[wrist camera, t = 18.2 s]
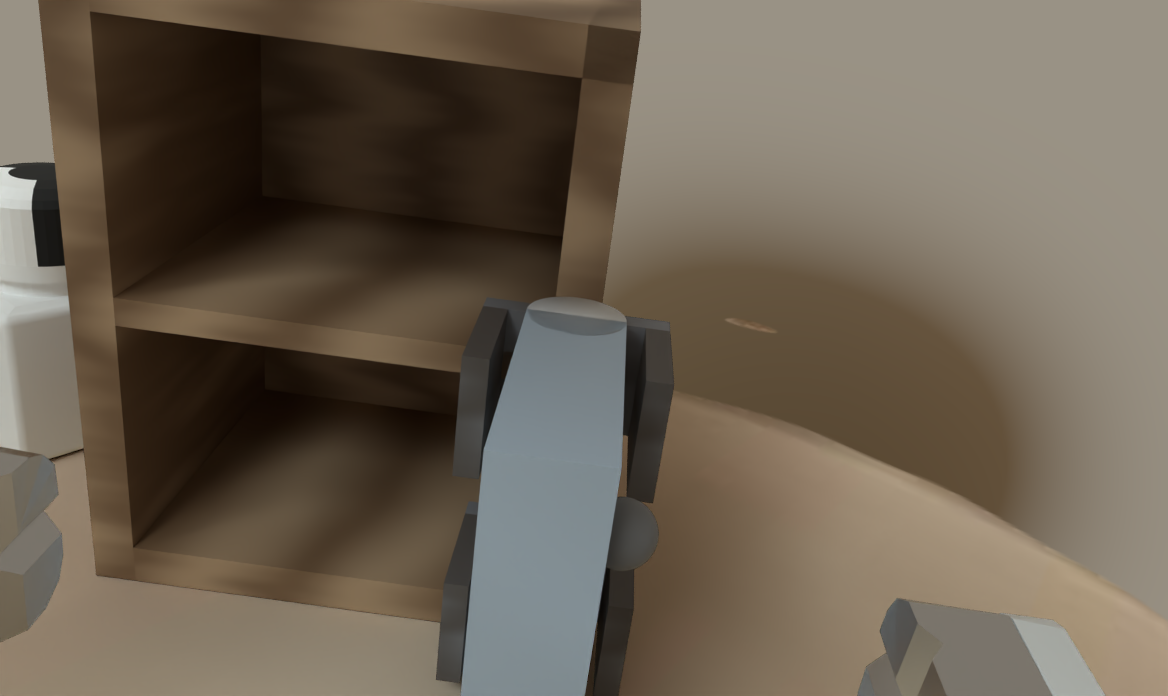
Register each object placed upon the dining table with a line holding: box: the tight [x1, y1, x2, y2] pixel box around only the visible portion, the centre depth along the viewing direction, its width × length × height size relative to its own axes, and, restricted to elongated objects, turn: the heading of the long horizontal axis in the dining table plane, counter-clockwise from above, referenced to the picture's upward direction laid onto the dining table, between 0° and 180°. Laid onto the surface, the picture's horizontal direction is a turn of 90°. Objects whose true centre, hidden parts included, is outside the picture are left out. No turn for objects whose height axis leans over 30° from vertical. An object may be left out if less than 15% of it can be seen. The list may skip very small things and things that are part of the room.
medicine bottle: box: [0, 163, 84, 459], centre depth 44 cm, size 7×7×12 cm
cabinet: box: [38, 0, 674, 696], centre depth 37 cm, size 20×19×22 cm
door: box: [461, 297, 659, 696], centre depth 28 cm, size 10×4×14 cm, turn 177°
